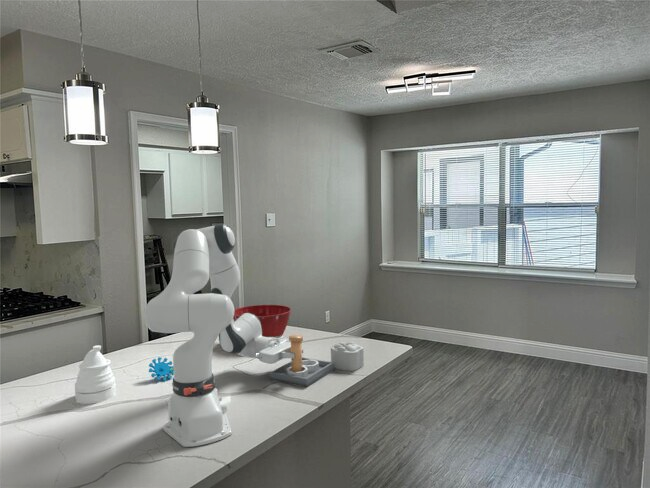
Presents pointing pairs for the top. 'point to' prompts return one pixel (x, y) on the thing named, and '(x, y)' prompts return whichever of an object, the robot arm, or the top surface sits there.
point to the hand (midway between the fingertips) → (298, 353)
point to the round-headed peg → (296, 352)
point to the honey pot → (94, 379)
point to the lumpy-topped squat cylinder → (347, 356)
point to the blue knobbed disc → (161, 369)
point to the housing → (303, 372)
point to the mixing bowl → (268, 318)
